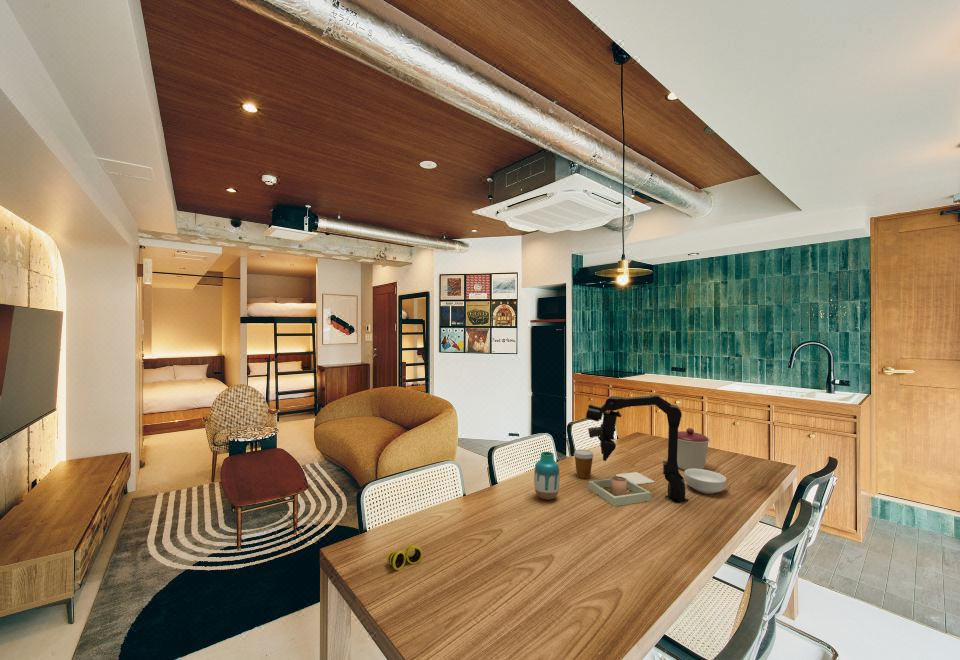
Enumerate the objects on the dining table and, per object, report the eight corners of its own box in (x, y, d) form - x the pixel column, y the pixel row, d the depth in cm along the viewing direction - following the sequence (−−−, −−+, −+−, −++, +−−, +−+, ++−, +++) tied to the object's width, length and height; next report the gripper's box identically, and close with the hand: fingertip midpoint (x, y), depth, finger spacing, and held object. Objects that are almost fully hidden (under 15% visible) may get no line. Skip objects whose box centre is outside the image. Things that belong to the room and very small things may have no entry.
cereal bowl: (723, 501, 169) (724, 485, 169) (680, 491, 179) (680, 475, 179) (728, 489, 182) (728, 473, 182) (687, 480, 192) (688, 465, 192)
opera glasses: (415, 557, 127) (414, 540, 128) (423, 562, 123) (422, 545, 123) (386, 568, 121) (385, 550, 122) (393, 573, 117) (392, 555, 118)
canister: (673, 472, 202) (674, 431, 202) (667, 461, 219) (668, 423, 219) (713, 476, 197) (714, 434, 197) (704, 464, 214) (705, 425, 214)
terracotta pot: (629, 496, 172) (629, 480, 172) (617, 498, 170) (617, 481, 170) (620, 491, 178) (620, 475, 178) (607, 492, 176) (608, 476, 176)
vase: (530, 500, 168) (531, 454, 168) (538, 491, 177) (539, 448, 177) (554, 505, 163) (555, 458, 163) (562, 496, 172) (562, 451, 172)
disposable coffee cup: (589, 481, 189) (589, 456, 188) (570, 477, 194) (570, 452, 194) (596, 476, 196) (596, 451, 196) (578, 471, 202) (578, 447, 202)
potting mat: (655, 482, 188) (655, 481, 188) (632, 485, 184) (632, 484, 184) (636, 473, 201) (636, 472, 201) (614, 475, 197) (614, 474, 197)
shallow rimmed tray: (650, 500, 168) (651, 492, 168) (614, 506, 163) (614, 497, 163) (622, 484, 186) (622, 476, 186) (588, 488, 180) (588, 481, 180)
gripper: (589, 415, 192) (584, 447, 193) (592, 426, 174) (586, 460, 175) (613, 420, 190) (608, 451, 191) (618, 431, 172) (612, 466, 173)
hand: (603, 457), depth 182 cm, fingers open, 9 cm apart
